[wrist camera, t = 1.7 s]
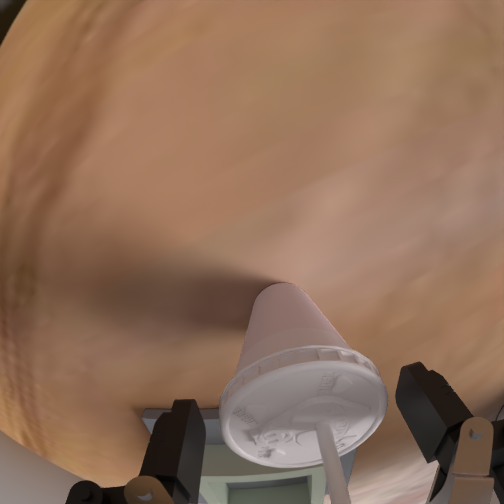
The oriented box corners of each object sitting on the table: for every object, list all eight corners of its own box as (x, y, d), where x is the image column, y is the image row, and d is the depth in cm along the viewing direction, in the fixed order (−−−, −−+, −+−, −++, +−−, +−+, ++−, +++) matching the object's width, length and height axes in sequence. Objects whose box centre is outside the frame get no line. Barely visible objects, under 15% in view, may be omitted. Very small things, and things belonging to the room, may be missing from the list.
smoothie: (337, 336, 19) (416, 519, 5) (247, 359, 19) (244, 558, 6) (321, 249, 17) (463, 435, 4) (217, 277, 17) (158, 503, 4)
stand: (361, 387, 20) (379, 428, 16) (344, 482, 25) (352, 511, 21) (145, 408, 21) (130, 448, 16) (199, 496, 26) (195, 525, 21)
